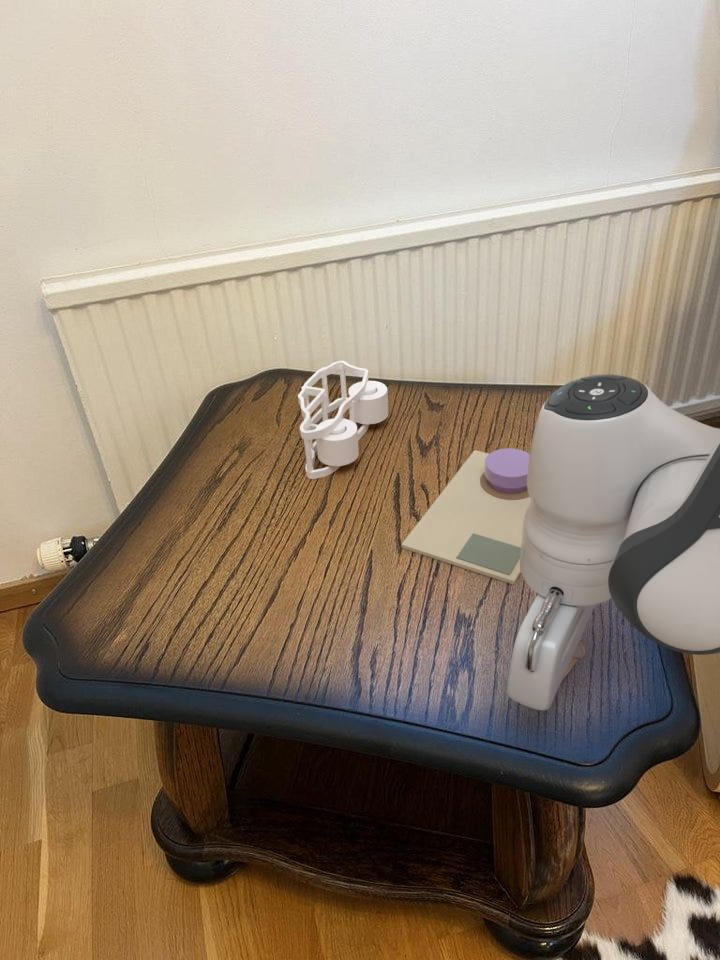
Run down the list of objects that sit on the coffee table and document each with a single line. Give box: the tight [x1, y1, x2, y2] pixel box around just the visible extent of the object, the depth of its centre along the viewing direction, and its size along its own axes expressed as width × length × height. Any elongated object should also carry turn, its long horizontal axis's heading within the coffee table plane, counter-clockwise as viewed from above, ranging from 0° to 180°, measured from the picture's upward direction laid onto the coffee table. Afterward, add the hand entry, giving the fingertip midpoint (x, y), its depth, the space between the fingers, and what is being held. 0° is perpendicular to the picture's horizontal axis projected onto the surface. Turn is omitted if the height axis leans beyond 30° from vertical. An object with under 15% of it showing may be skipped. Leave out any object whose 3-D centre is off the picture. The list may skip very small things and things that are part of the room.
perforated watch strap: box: [562, 639, 586, 681], centre depth 72 cm, size 3×5×5 cm, turn 132°
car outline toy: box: [297, 360, 389, 480], centre depth 107 cm, size 20×11×7 cm, turn 157°
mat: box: [400, 449, 530, 585], centre depth 94 cm, size 14×22×1 cm, turn 150°
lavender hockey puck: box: [485, 447, 530, 493], centre depth 97 cm, size 6×6×3 cm
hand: (558, 664), depth 72 cm, fingers closed on perforated watch strap, 5 cm apart
